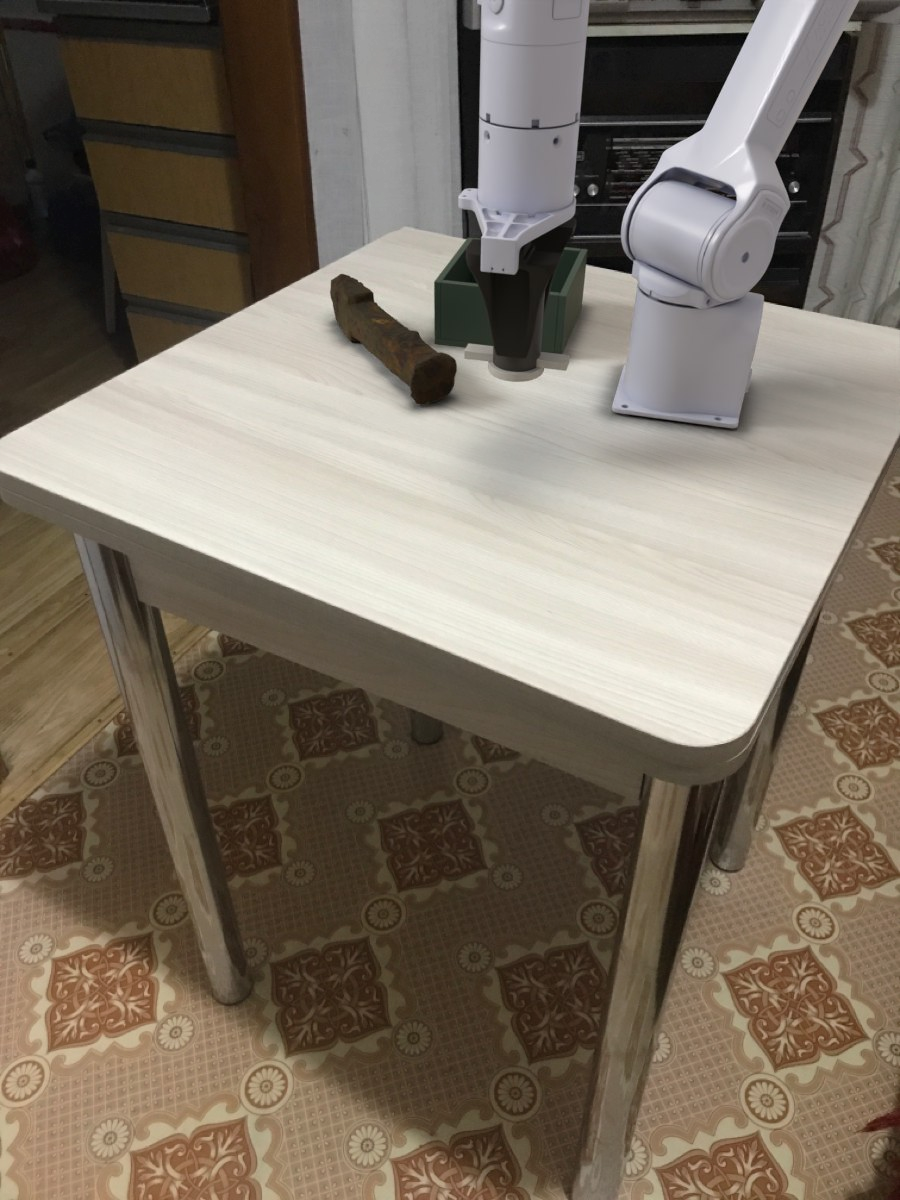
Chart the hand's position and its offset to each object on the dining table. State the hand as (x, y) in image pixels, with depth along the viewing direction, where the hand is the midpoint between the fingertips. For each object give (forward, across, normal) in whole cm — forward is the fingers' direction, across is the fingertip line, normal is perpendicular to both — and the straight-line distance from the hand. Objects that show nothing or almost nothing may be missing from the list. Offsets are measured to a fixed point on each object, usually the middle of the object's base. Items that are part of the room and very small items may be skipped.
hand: (517, 342), depth 61 cm
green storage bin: (+8, -21, -5) cm, 23 cm away
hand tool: (+8, -12, -14) cm, 20 cm away
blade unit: (+2, 0, 0) cm, 2 cm away
